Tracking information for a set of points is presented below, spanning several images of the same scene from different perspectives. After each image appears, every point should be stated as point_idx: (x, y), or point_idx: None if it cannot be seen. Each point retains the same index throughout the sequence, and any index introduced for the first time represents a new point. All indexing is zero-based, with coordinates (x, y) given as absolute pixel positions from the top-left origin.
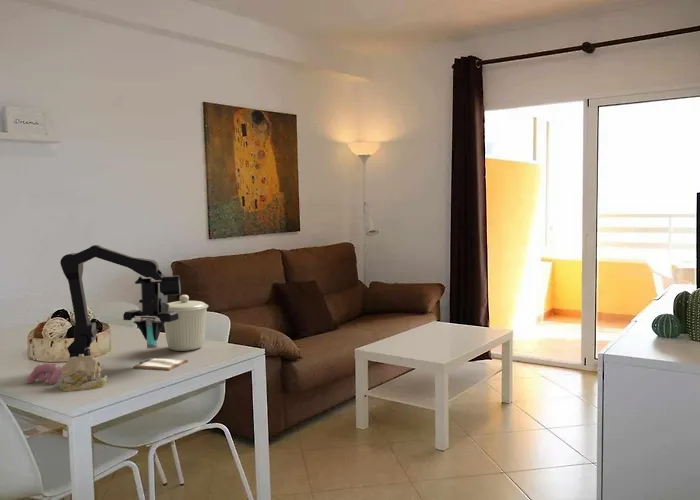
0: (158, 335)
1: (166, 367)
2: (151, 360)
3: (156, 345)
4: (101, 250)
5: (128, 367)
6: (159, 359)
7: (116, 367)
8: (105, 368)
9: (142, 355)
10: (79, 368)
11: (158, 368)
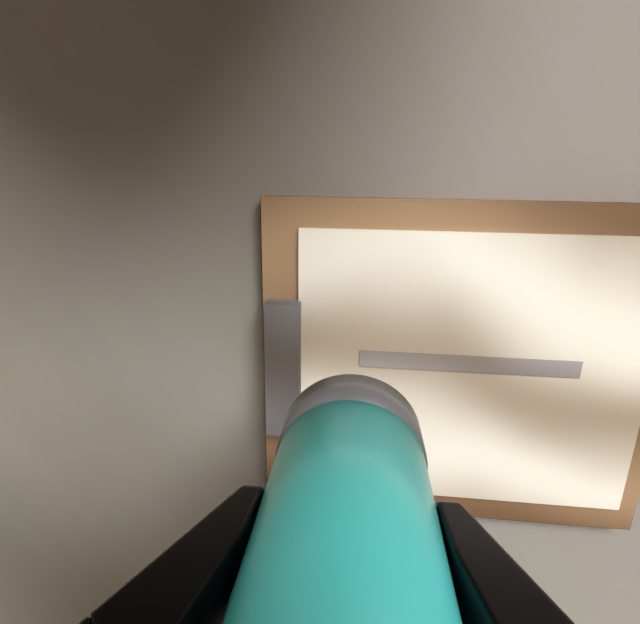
0: (516, 578)
1: (593, 506)
2: (317, 315)
3: (423, 443)
4: None
5: (219, 472)
6: (377, 262)
7: (128, 482)
8: (71, 514)
9: (24, 31)
10: None
11: (520, 518)
